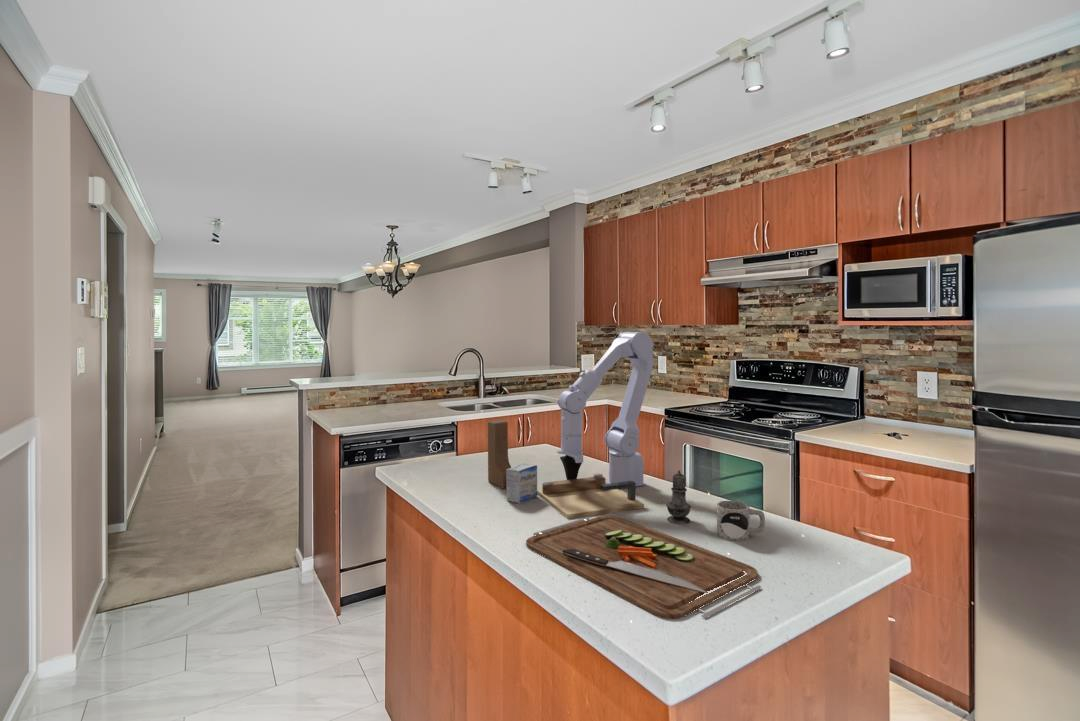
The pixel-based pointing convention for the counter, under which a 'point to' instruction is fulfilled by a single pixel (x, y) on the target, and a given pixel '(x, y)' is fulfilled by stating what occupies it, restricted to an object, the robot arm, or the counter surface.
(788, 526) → the counter surface
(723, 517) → the mug
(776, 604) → the counter surface
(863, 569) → the counter surface
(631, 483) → the bar
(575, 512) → the oak board
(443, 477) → the counter surface
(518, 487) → the medicine box
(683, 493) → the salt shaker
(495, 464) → the wooden block
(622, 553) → the chopping board
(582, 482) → the link
